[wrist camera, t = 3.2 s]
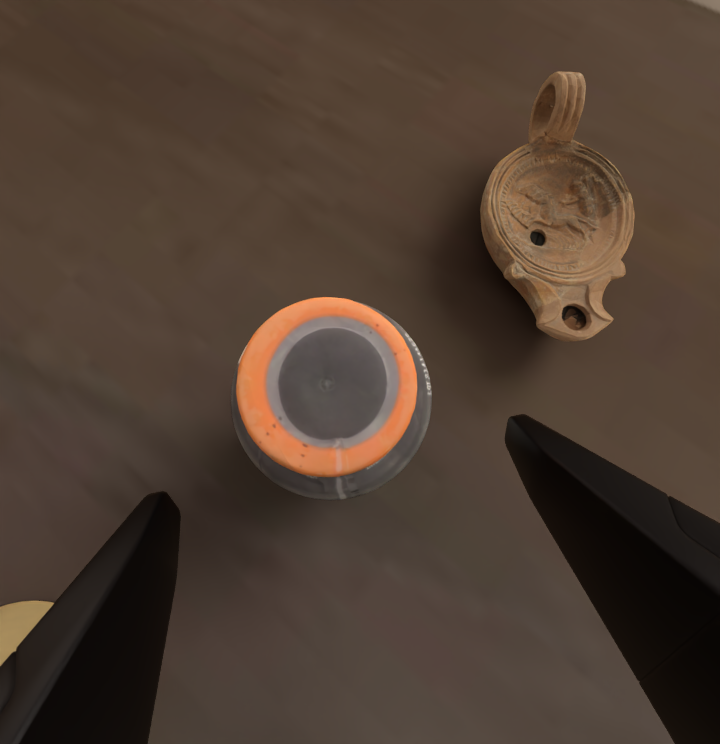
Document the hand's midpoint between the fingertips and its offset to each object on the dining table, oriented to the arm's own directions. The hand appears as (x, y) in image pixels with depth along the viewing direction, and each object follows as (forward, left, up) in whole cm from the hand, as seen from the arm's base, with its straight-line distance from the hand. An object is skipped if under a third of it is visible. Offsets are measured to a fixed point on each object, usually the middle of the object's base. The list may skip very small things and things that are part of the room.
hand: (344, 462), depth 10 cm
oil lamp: (+14, -7, -9) cm, 18 cm away
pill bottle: (+2, +1, -9) cm, 10 cm away
